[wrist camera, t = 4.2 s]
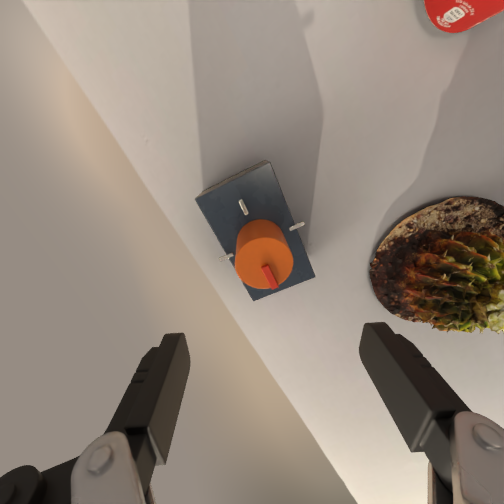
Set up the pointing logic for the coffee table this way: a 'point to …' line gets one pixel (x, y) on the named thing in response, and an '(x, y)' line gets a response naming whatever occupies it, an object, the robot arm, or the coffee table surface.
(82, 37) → the coffee table surface
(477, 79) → the coffee table surface
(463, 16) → the beverage can
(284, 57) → the coffee table surface
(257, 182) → the dial base block
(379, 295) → the cactus
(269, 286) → the dial knob
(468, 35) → the coffee table surface
